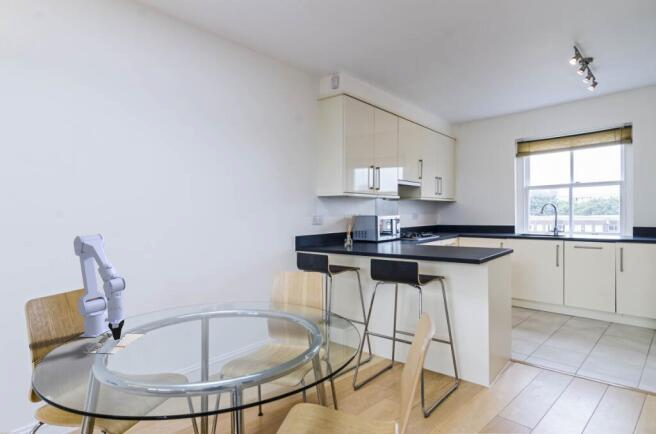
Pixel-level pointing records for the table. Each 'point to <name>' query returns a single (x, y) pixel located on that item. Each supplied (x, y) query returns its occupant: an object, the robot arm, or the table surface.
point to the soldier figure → (99, 344)
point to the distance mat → (124, 342)
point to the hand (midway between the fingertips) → (117, 339)
